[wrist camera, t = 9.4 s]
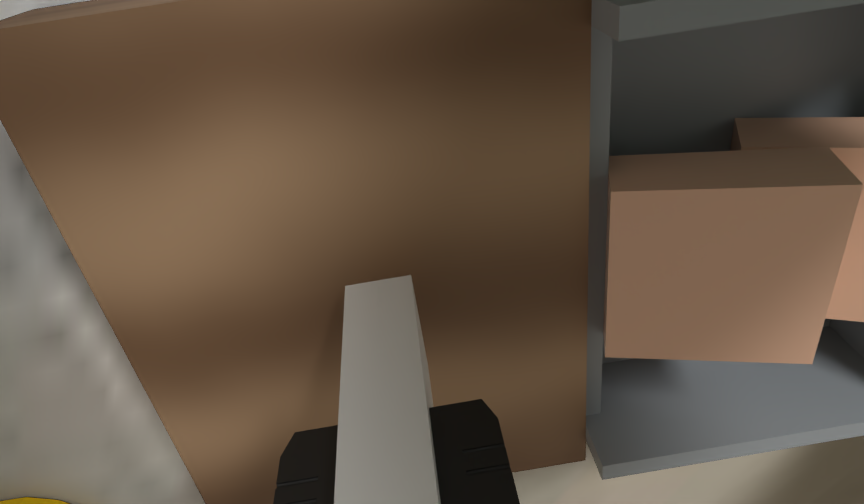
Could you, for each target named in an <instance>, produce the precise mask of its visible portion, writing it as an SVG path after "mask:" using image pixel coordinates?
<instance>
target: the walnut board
mask: <svg viewBox="0 0 864 504" xmlns="http://www.w3.org/2000/svg"><path fill="white" fill-rule="evenodd" d="M591 12H592V0H91V1H85V2H78V3H72V4H65V5H59V6H52V7H46V8H39V9H33V10H30V11H27V12H24V13H21V14H18V15H15V16H12V17H9V18H6V19H3V20H0V120H1V122H2V124H3V126H4V128H5V129H6V131H7V133H8V135H9V137H10V139H11V141H12V142H13V144H14V146H15V148H16V150H17V152H18V154H19V156H20V157H21V159H22V161H23V163H24V165H25V167H26V169H27V170H28V172H29V174H30V176H31V178H32V180H33V182H34V184H35V185H36V187H37V189H38V191H39V193H40V195H41V197H42V198H43V200H44V202H45V204H46V206H47V208H48V210H49V212H50V213H51V215H52V217H53V219H54V221H55V223H56V225H57V227H58V228H59V230H60V232H61V234H62V236H63V238H64V240H65V241H66V243H67V245H68V247H69V249H70V251H71V253H72V255H73V256H74V258H75V260H76V262H77V264H78V266H79V268H80V269H81V271H82V273H83V275H84V277H85V279H86V281H87V283H88V284H89V286H90V288H91V290H92V292H93V294H94V296H95V297H96V299H97V301H98V303H99V305H100V307H101V309H102V311H103V312H104V314H105V316H106V318H107V320H108V322H109V324H110V326H111V327H112V329H113V331H114V333H115V335H116V337H117V339H118V340H119V342H120V344H121V346H122V348H123V350H124V352H125V354H126V355H127V357H128V359H129V361H130V363H131V365H132V367H133V368H134V370H135V372H136V374H137V376H138V378H139V380H140V382H141V383H142V385H143V387H144V389H145V391H146V393H147V395H148V396H149V398H150V400H151V402H152V404H153V406H154V408H155V410H156V411H157V413H158V415H159V417H160V419H161V421H162V423H163V425H164V426H165V428H166V430H167V432H168V434H169V436H170V438H171V439H172V441H173V443H174V445H175V447H176V449H177V451H178V453H179V454H180V456H181V458H182V460H183V462H184V464H185V466H186V467H187V469H188V471H189V473H190V475H191V477H192V479H193V481H194V482H195V484H196V486H197V488H198V490H199V492H200V494H201V496H202V497H203V499H204V501H205V503H206V504H273V501H274V494H275V489H276V488H277V485H276V481H277V475H278V468H279V461H280V456H281V455H282V453H283V451H284V450H285V448H286V446H287V445H288V443H289V441H290V439H291V438H292V436H293V434H294V433H295V432H299V431H305V430H311V429H317V428H323V427H329V426H334V425H338V414H339V395H340V375H341V356H342V337H343V317H344V298H345V286H348V285H353V284H359V283H365V282H371V281H377V280H383V279H389V278H395V277H401V276H407V275H411V277H412V283H413V288H414V293H415V299H416V304H417V309H418V315H419V320H420V325H421V331H422V336H423V341H424V346H425V352H426V357H427V362H428V369H429V377H430V384H431V392H432V399H433V407H436V406H442V405H448V404H454V403H460V402H466V401H471V400H477V399H482V400H483V401H484V402H485V403H486V404H487V406H488V407H489V408H490V409H491V410H492V412H493V413H494V414H495V415H496V416H497V417H498V420H499V424H500V428H501V432H502V436H503V440H504V444H505V448H506V452H507V456H508V459H509V464H510V468H511V471H512V472H518V471H524V470H530V469H536V468H542V467H548V466H554V465H559V464H565V463H571V462H577V461H583V460H585V456H586V382H587V308H588V234H589V160H590V86H591Z"/></svg>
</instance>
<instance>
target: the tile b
mask: <svg viewBox="0 0 864 504" xmlns="http://www.w3.org/2000/svg"><path fill="white" fill-rule="evenodd" d="M810 147H829V148H830V149H831V150H832V152H833V153H834V154H835V155H836V156H837V157H838V158H839V159H840V160H841V161H842V162H843V163H844V164H845V165H846V167H847V168H848V169H849V170H850V171H851V172H852V173H853V174H854V175H855V176H856V177H857V178H858V179H859V180H860V182H861V183H862V184H863V188H862V191H861V195H860V198H859V202H858V205H857V209H856V212H855V216H854V219H853V223H852V226H851V230H850V233H849V237H848V240H847V244H846V247H845V251H844V254H843V258H842V262H841V265H840V269H839V272H838V276H837V279H836V283H835V286H834V290H833V293H832V297H831V300H830V304H829V307H828V311H827V314H826V318H825V319H836V320H847V321H858V322H864V117H791V118H735V120H734V126H733V133H732V140H731V147H730V151H738V150H762V149H786V148H810Z"/></svg>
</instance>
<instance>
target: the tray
mask: <svg viewBox="0 0 864 504" xmlns="http://www.w3.org/2000/svg"><path fill="white" fill-rule="evenodd" d="M791 117H864V0H592V12H591V86H590V160H589V234H588V308H587V382H586V441H587V444H588V446H589V448H590V451H591V453H592V456H593V458H594V461H595V463H596V466H597V468H598V471H599V473H600V475H601V478H602V480H603V479H609V478H615V477H621V476H627V475H633V474H639V473H645V472H651V471H657V470H662V469H668V468H674V467H680V466H686V465H692V464H698V463H704V462H710V461H716V460H722V459H728V458H733V457H739V456H745V455H751V454H757V453H763V452H769V451H775V450H781V449H787V448H793V447H799V446H804V445H810V444H816V443H822V442H828V441H834V440H840V439H846V438H852V437H858V436H864V322H858V321H847V320H836V319H825V321H824V325H823V328H822V332H821V335H820V339H819V342H818V346H817V349H816V353H815V356H814V360H813V363H812V364H789V363H759V362H730V361H700V360H670V359H641V358H611V357H605V350H604V337H603V323H604V292H605V260H606V229H607V198H608V167H609V156H618V155H642V154H666V153H690V152H714V151H730V147H731V140H732V133H733V126H734V120H735V118H791Z"/></svg>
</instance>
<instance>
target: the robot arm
mask: <svg viewBox="0 0 864 504" xmlns="http://www.w3.org/2000/svg"><path fill="white" fill-rule="evenodd" d="M276 485H277V488H276V489H275V494H274V501H273V504H520V503H519V499H518V495H517V491H516V487H515V483H514V479H513V475H512V471H511V468H510V464H509V459H508V456H507V452H506V448H505V444H504V440H503V436H502V432H501V428H500V424H499V420H498V417H497V416H496V415H495V414H494V413H493V412H492V410H491V409H490V408H489V407H488V406H487V404H486V403H485V402H484V401H483V400H482V399H477V400H471V401H466V402H460V403H454V404H448V405H442V406H436V407H433V399H432V392H431V384H430V377H429V369H428V362H427V357H426V352H425V346H424V341H423V336H422V331H421V325H420V320H419V315H418V309H417V304H416V299H415V293H414V288H413V283H412V277H411V275H407V276H401V277H395V278H389V279H383V280H377V281H371V282H365V283H359V284H353V285H348V286H345V298H344V317H343V337H342V356H341V375H340V395H339V414H338V425H334V426H329V427H323V428H317V429H311V430H305V431H299V432H295V433H294V434H293V436H292V438H291V439H290V441H289V443H288V445H287V446H286V448H285V450H284V451H283V453H282V455H281V456H280V461H279V468H278V475H277V481H276Z"/></svg>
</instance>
